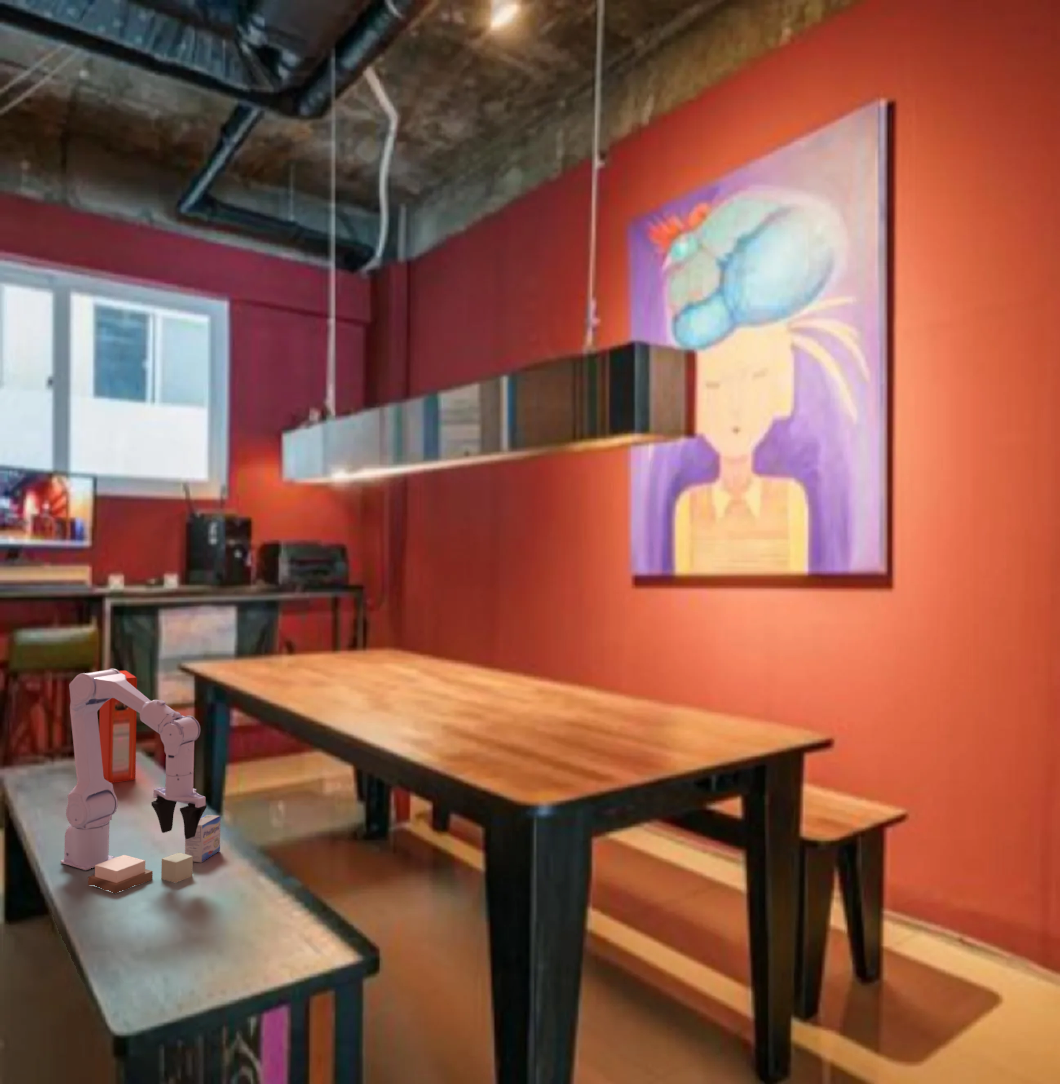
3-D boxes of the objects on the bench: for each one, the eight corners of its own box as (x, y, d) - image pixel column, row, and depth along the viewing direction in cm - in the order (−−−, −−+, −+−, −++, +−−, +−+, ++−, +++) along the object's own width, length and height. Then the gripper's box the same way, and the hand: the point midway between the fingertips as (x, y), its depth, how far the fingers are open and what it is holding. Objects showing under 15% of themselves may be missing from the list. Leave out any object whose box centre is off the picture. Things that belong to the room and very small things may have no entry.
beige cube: (161, 879, 184) (161, 858, 184) (178, 872, 188) (178, 852, 188) (175, 883, 182) (175, 862, 182) (192, 876, 186) (192, 856, 186)
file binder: (106, 783, 257) (109, 679, 257) (97, 771, 271) (100, 672, 271) (135, 779, 261) (137, 677, 262) (125, 767, 275) (127, 670, 276)
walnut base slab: (88, 888, 180) (88, 877, 180) (125, 874, 188) (125, 863, 188) (115, 897, 175) (115, 885, 176) (152, 882, 183) (152, 871, 183)
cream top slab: (94, 876, 180) (95, 865, 180) (123, 866, 186) (123, 854, 186) (116, 883, 177) (116, 871, 177) (145, 872, 183) (145, 860, 183)
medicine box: (201, 863, 193) (202, 825, 194) (184, 861, 194) (184, 824, 194) (220, 851, 201) (221, 815, 201) (203, 850, 202) (204, 814, 202)
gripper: (217, 773, 185) (215, 835, 185) (172, 764, 192) (171, 824, 192) (190, 781, 179) (189, 844, 179) (145, 771, 186) (144, 832, 186)
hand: (178, 834), depth 185 cm, fingers open, 7 cm apart
